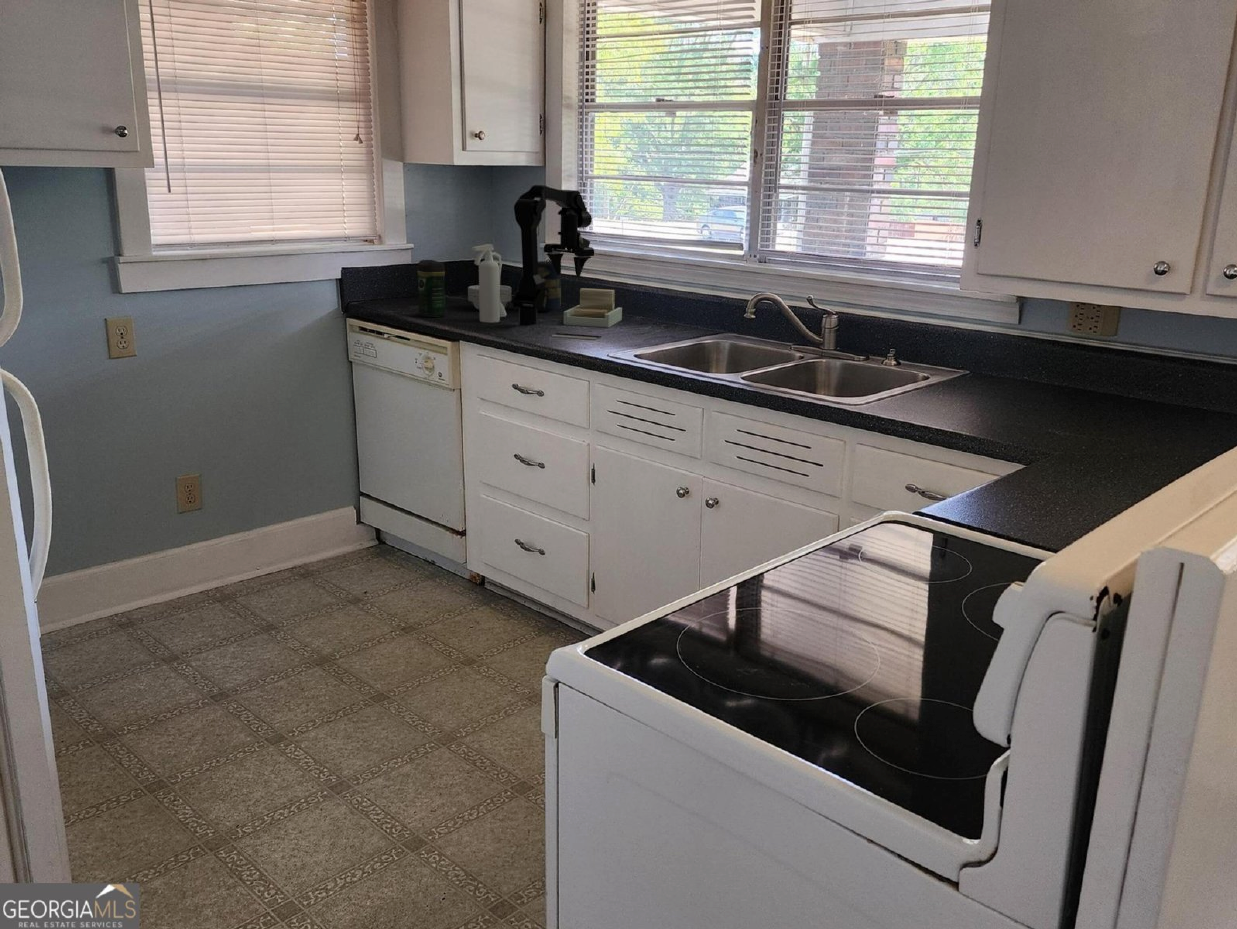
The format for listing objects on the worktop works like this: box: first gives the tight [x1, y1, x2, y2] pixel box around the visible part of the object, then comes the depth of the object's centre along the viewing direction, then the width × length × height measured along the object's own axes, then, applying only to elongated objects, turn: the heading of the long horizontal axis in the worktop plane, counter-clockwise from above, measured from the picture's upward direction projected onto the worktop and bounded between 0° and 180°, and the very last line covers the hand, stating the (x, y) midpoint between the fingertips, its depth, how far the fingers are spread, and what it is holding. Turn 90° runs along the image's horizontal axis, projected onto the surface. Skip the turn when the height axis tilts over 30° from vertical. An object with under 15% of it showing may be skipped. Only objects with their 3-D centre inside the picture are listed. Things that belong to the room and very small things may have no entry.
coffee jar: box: [416, 259, 447, 318], centre depth 353 cm, size 10×8×19 cm
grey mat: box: [551, 332, 603, 341], centre depth 328 cm, size 14×14×1 cm
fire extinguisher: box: [471, 243, 507, 324], centre depth 345 cm, size 7×12×25 cm, turn 130°
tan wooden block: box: [579, 287, 616, 313], centre depth 348 cm, size 3×11×10 cm, turn 75°
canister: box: [537, 258, 562, 312], centre depth 370 cm, size 10×10×18 cm
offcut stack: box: [572, 308, 607, 319], centre depth 341 cm, size 4×11×4 cm, turn 75°
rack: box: [563, 304, 623, 328], centre depth 345 cm, size 16×15×5 cm
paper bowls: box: [467, 284, 512, 311], centre depth 373 cm, size 15×15×8 cm
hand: (568, 276), depth 357 cm, fingers open, 9 cm apart
